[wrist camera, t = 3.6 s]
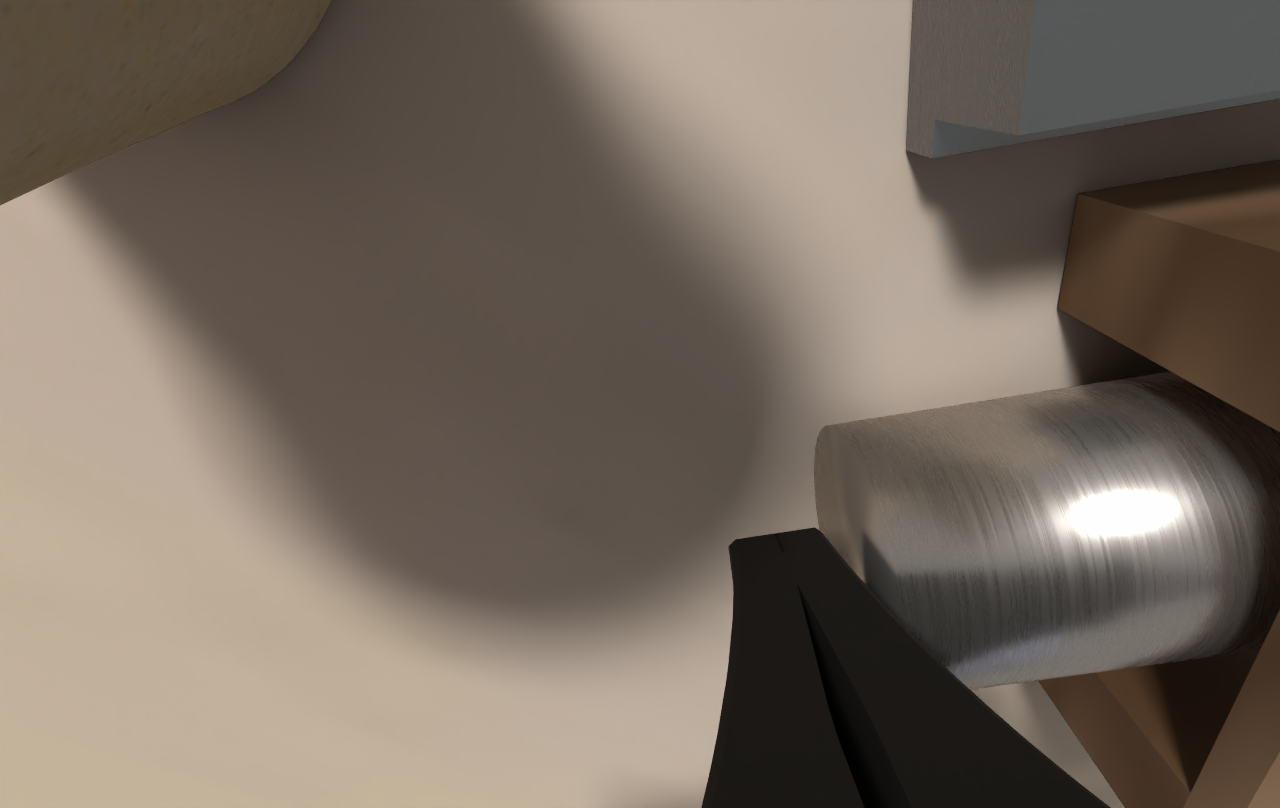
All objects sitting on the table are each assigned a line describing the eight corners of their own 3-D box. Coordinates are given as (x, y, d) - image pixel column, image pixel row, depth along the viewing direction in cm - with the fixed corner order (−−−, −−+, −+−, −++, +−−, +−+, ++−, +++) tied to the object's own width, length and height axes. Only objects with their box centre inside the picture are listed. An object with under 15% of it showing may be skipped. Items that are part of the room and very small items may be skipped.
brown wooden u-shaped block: (1169, 602, 13) (1447, 874, 9) (1000, 625, 13) (1191, 904, 9) (1331, 151, 9) (2051, 243, 4) (1078, 193, 9) (1526, 322, 5)
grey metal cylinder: (1425, 287, 10) (1891, 368, 6) (1357, 499, 12) (1704, 664, 8) (807, 386, 10) (905, 516, 7) (821, 577, 12) (906, 768, 8)
